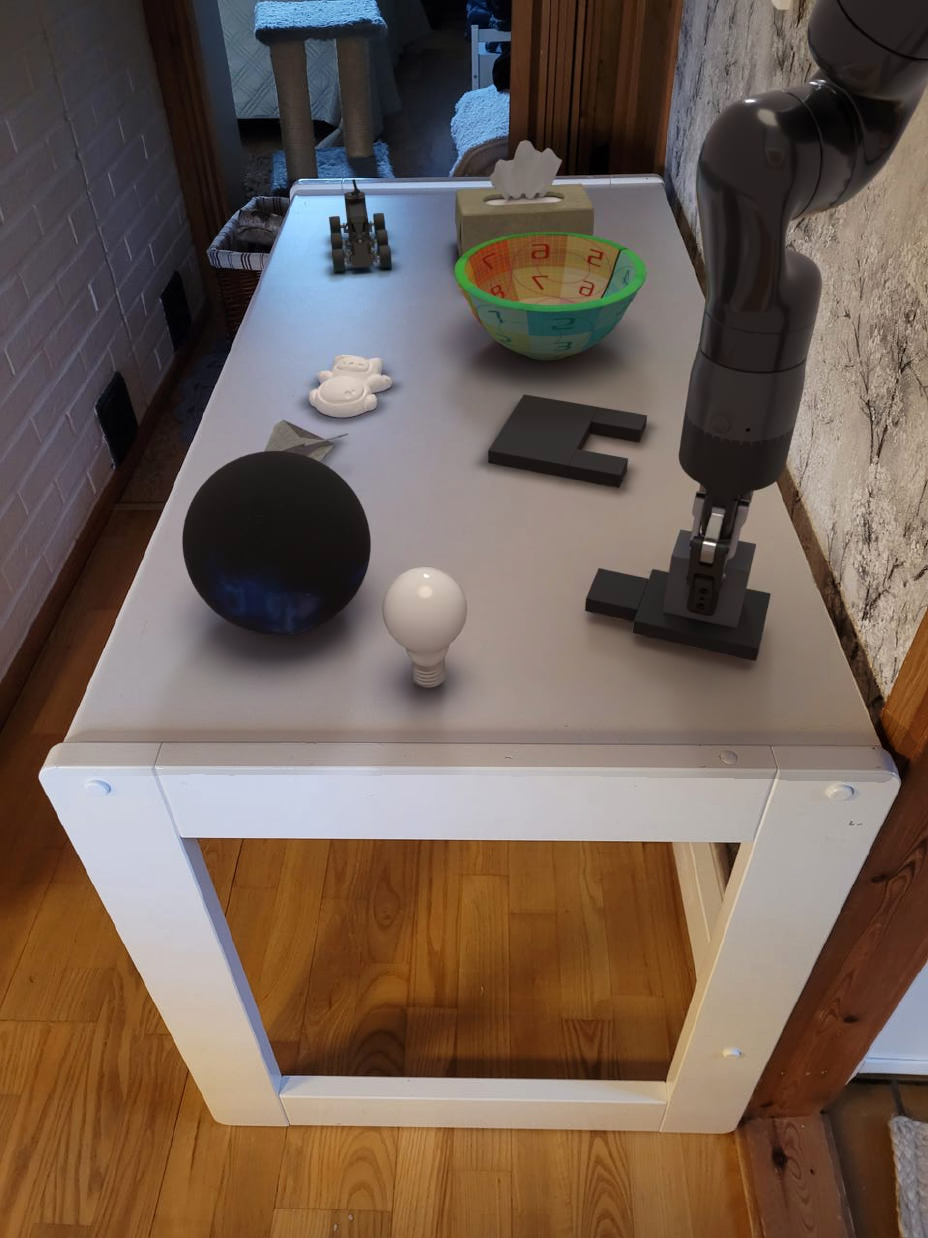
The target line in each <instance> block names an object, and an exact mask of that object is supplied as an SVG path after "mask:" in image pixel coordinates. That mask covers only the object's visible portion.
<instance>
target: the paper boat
mask: <svg viewBox="0 0 928 1238" xmlns="http://www.w3.org/2000/svg"><path fill="white" fill-rule="evenodd" d="M348 435H349V433H348V432H347V433H343V434H339V435H337V436H334V437H331V438H328V439H325V438H323V437H322V436H319V435H317V434H315V433H313V432H310V431H309V430H306V429H305V428H303V427H300V426H298V425H296V424H293V423H292V422H289V421H288V420H285V419H281V420H280V421H279V422H278V423H276V424H275V425H274V426H273V428H272V431H271V433H270V436H269V438H268V441H267V443H266V446H265V448H264V451H286V452H293V453H297V454H301V455H305V456H307V457H310V458H313V459H315V460H317V461H319V462H321V461H322V460H323V458H324V457H326V455H327V454H329V452H330V451H331V450H332V449H333V448H334V446H335V445H336V444H335V443H334V442H332V441H331V440H334V439H340V438H342V437H346V436H348ZM264 451H263V452H264Z"/></svg>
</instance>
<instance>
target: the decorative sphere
mask: <svg viewBox="0 0 928 1238" xmlns="http://www.w3.org/2000/svg"><path fill="white" fill-rule="evenodd" d="M369 525H370V524H369V521H368V518H367V515H366V512H365V509H364V507H363V504H362V503H361V501H360V499H359V498H358V496H357V494H356V492H355V491H354V490H353V488H352V487H351V486H350V484H348V482H347V481H346V480H345V479H344V478H343V477H342V476H341V475H340V474H338V473H337V472H336V471H335V470H333V469H332V468H331V467H329V465H328V466H327V464H324V463H323V462H321V461H320V462H319V461H317V460H315V459H313V458H310V457H307V456H305V455H301V454H297V453H293V452H286V451H257V452H254V453H249V454H246V455H243V456H239V457H238V458H236V459H235V458H234V459H233V460H231V461H229V462H228V463H226V464H224V465H223V466H221V467H219V468H218V469H217V470H216V471H214V472H213V473H212V474H211V475H210V476H209V477H208V478H207V479H206V480H205V481H204V482H203V484H202V485H201V486H200V487H199V489H198V490H197V491H196V493H195V495H194V496H193V498H192V500H191V502H190V504H189V506H188V509H187V512H186V514H185V518H184V523H183V527H182V541H181V544H182V545H181V546H182V556H183V561H184V565H185V568H186V571H187V574H188V576H189V580H190V581H191V583H192V586H193V587H194V588H195V590H196V592H197V594H198V595H199V596H200V598H201V599H202V600H203V601H204V602H205V604H206V605H207V606H208V607H209V608H210V609H211V610H212V611H213V612H215V613H216V614H217V615H219V616H220V618H222V619H223V620H225V621H227V622H229V623H230V624H232V625H233V626H236V627H237V628H241V629H242V630H246V631H249V632H252V633H256V634H262V635H267V636H268V635H269V636H289V635H296V634H300V633H304V632H307V631H310V630H313V629H316V628H318V627H320V626H323V625H324V624H326V623H327V622H328V621H330V620H332V619H333V618H335V617H336V616H338V615H339V614H340V613H341V612H342V611H343V610H344V609H345V608H346V607H347V606H348V605H349V604H350V602H351V601H352V600H353V599H354V598H355V596H356V595H357V593H358V592H359V590H360V587H361V586H362V584H363V582H364V580H365V577H366V575H367V572H368V568H369V564H370V558H371V553H372V551H371V549H372V539H371V531H370V526H369Z"/></svg>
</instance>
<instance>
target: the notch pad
mask: <svg viewBox="0 0 928 1238" xmlns="http://www.w3.org/2000/svg"><path fill="white" fill-rule="evenodd" d="M647 421H648V415H647V414H643V413H636V412H630V411H625V410H619V409H613V408H608V407H601V406H595V405H590V404H584V403H577V402H573V401H565V400H560V399H555V398H548V397H544V396H543V397H542V396H537V395H531V394H525V393H524V394H523V395H522V397H521V398H520V400H519V401H518V403H517V405H516V406H515V407H514V409H513V411H512V412H511V414H510V415H509V417H508V418H507V420H506V422H505V423H504V425H502V428H501V429H500V431H499V432H498V434H497V435H496V437H495V439H494V440H493V442H492V443H491V445H490V446H489V448H488V450H487V461H488V463H490V464H495V465H500V466H506V467H511V468H516V469H520V470H526V471H531V472H536V473H542V474H547V475H553V476H556V477H557V476H558V477H562V478H563V477H564V478H569V479H573V480H579V481H585V482H590V483H595V484H600V485H604V486H605V485H606V486H609V487H616V488H620V487H621V485H622V483H623V480H624V477H625V476H626V473H627V471H628V464H629V458H628V457H623V456H617V455H611V454H608V453H607V454H606V453H602V452H601V453H600V452H595V451H590V450H589V451H588V450H584V449H583V448H584V446H585V444H586V442H587V440H588V439H589V437H590V435H591V434H593V435H598V436H604V437H609V438H615V439H621V440H626V441H632V442H637V443H640V441H641V438H642V437H643V434H644V432H645V431H646V427H647Z"/></svg>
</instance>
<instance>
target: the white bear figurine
mask: <svg viewBox="0 0 928 1238" xmlns="http://www.w3.org/2000/svg"><path fill="white" fill-rule="evenodd" d="M332 362H333V365H332V368H331V370H321V371H320V372H318V374H317V379H318V382H319V384H320V385H318V387H317V388H314V389H312V390H311V391H310V392H309V394H308V401H309V404H310V405H311V406H312V407H315V409H316V410H317V411H318V412H319V413H321V414H323V415H326V416H329V417H332V418H351V417H356V416H360V415H363V414H364V413H367V412H371V411H374V410H375V409H376V408H377V405H378V399H377V396H376V395H375V394H374V393H379V392H384V391H386V390H388V389H389V388H391V386H392V384H393V380H392V378H391V377H390V376H387V375H386V374H382V373H383V360H382V359H381V358H379V357H371V358H370V359H367V358H366V357H363V356H360V355H359V356H358V355H351V354H350V355H349V354H341V355H340V354H339V355H337V356H335V357H334V358H333V359H332Z"/></svg>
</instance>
